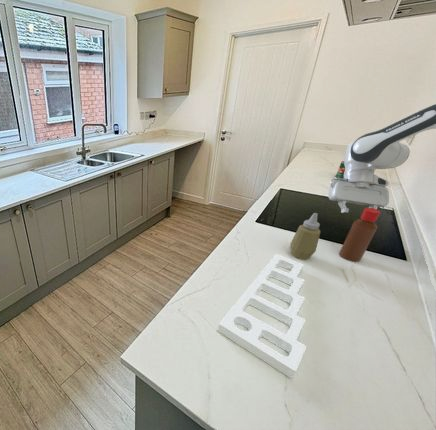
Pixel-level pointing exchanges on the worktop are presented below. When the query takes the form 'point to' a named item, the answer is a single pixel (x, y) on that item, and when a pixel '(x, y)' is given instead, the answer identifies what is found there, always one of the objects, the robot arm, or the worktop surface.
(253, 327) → the holder
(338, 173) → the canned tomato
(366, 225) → the bottle
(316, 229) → the squeeze bottle
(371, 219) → the cap
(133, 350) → the worktop surface
